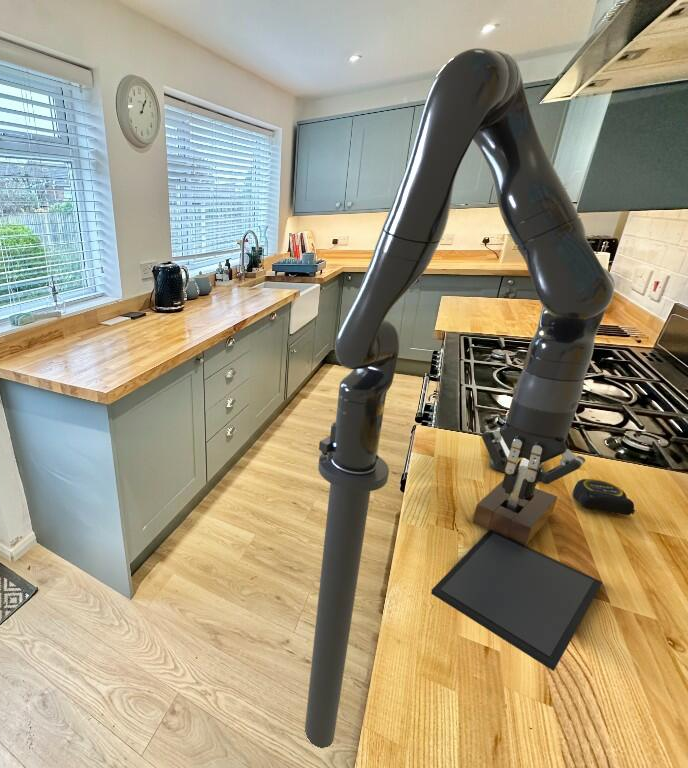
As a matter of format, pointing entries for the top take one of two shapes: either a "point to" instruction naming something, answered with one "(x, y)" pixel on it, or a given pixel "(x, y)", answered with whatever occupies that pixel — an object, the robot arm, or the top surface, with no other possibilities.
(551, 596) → the tablet
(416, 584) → the top surface
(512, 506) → the grey square rod
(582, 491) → the tape measure
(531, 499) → the pen stand
